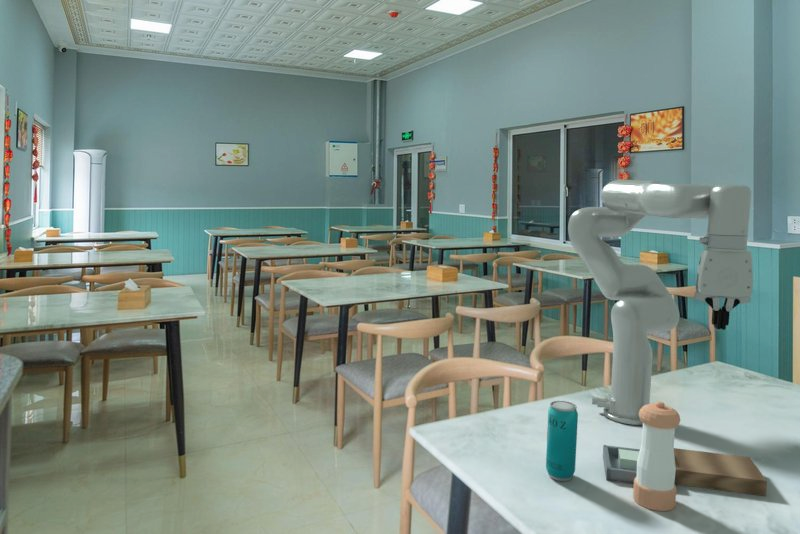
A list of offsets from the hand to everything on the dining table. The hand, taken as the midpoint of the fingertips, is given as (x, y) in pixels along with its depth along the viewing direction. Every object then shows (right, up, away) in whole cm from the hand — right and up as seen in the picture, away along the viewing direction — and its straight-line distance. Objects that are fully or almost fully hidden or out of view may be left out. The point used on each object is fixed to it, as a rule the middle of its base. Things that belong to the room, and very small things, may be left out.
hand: (719, 328), depth 125 cm
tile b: (-20, -27, -3) cm, 33 cm away
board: (-5, -30, -7) cm, 31 cm away
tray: (-20, -29, -5) cm, 36 cm away
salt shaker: (-22, -31, -16) cm, 41 cm away
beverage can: (-36, -30, -7) cm, 48 cm away
